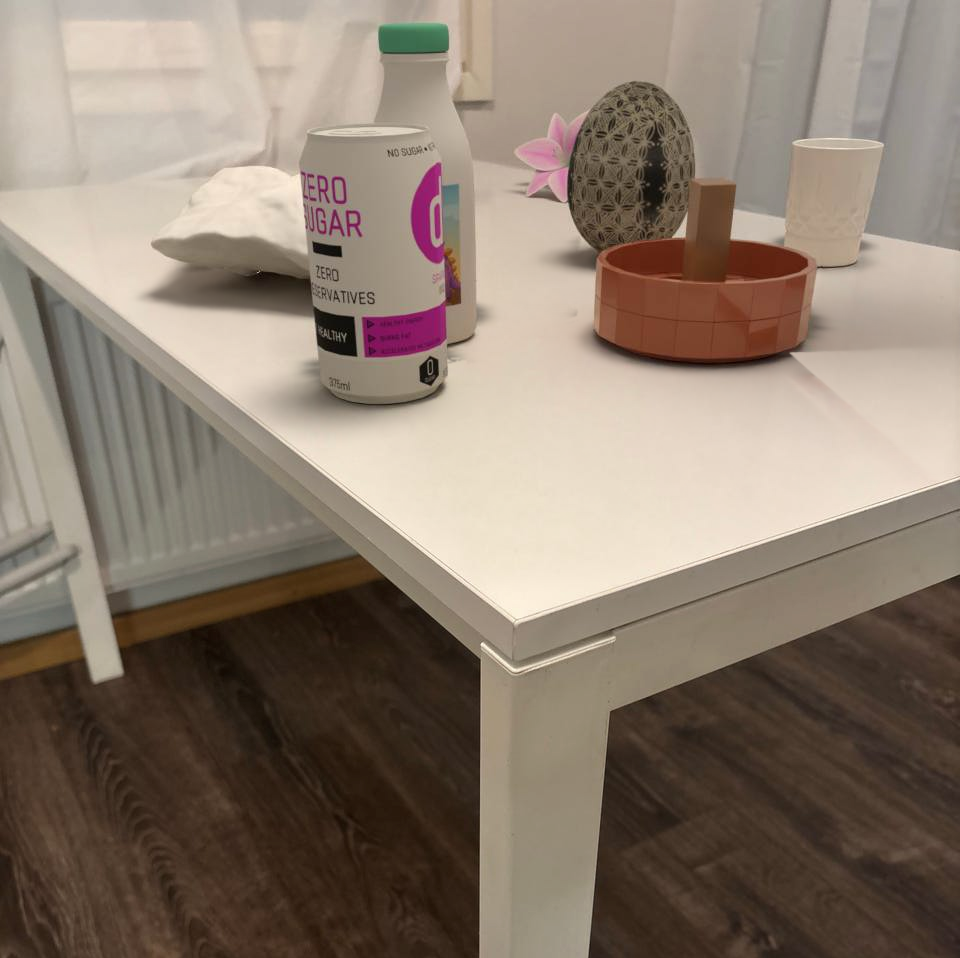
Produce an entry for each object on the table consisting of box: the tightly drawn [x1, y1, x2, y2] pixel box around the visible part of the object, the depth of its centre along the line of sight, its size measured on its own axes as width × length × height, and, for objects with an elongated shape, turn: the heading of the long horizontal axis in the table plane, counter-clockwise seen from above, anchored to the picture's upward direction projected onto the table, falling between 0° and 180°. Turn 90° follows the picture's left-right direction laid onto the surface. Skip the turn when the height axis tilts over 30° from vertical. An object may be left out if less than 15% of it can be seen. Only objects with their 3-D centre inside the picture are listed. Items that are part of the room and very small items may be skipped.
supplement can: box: [298, 122, 449, 405], centre depth 62 cm, size 8×8×15 cm
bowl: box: [593, 237, 818, 364], centre depth 73 cm, size 15×15×6 cm
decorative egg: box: [567, 80, 696, 254], centre depth 94 cm, size 12×12×15 cm
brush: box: [682, 177, 744, 282], centre depth 72 cm, size 7×4×10 cm, turn 94°
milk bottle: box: [373, 22, 477, 345], centre depth 71 cm, size 8×8×20 cm
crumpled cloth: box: [150, 165, 311, 280], centre depth 91 cm, size 24×35×9 cm
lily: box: [513, 108, 592, 204], centre depth 128 cm, size 12×12×10 cm
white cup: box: [783, 137, 885, 268], centre depth 93 cm, size 8×8×10 cm
